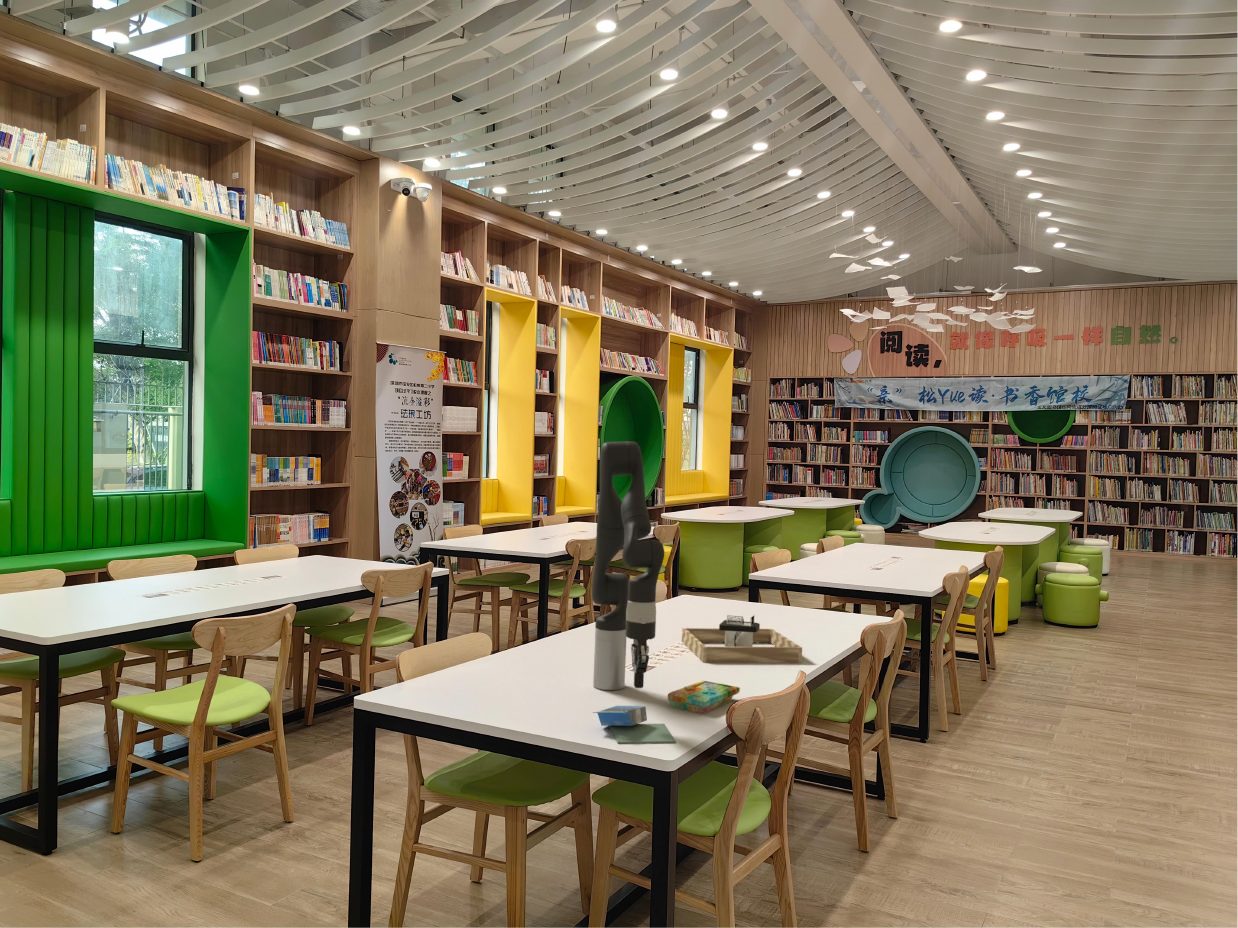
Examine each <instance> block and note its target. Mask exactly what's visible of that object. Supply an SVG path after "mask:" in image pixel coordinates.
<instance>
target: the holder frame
mask: <svg viewBox="0 0 1238 928" xmlns="http://www.w3.org/2000/svg"><path fill="white" fill-rule="evenodd" d="M681 642H683V643H684V644H683V645H684V646H685V647H686V648H687V649H689V651H691V653H693V655H695V656H696V658H697V659H699V661H701V662H702V663H802V660H803V647H802V646H800V645H798V644H797V643H796V642H794V641H792V640H790V639H789V638H788V637H786V636H784V635H783V634H781V633H780V632H778V631H776V630H775V629H773V628H760V629H759V630H758V631H757V632H753V642H770V643H772V644H773V645H775V646H776V647H775V646H773V645H772V644H771V645H772V646H752V647H724V646H707V645H705V643H702V642H725V631H723V630H719V627H717V628H707V627H706V628H703V627H697V628H695V627H692V628H691V627H687V628H686V627H684V628H683V627H681ZM770 643H769V644H770Z"/></svg>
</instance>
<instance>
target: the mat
mask: <svg viewBox="0 0 1238 928" xmlns="http://www.w3.org/2000/svg"><path fill="white" fill-rule="evenodd" d="M609 727H610V729H611V732H612V735H613V737H614V738H615V740H616V742H617V744H620V745H621V744H676V743H677V740H676V739H675V738H674V736H673V735H672V733H671V732H670V730H669V729H668V726H667V725H666V724H665V723H638V724H635V725H633V726H609Z"/></svg>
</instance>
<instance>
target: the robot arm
mask: <svg viewBox="0 0 1238 928" xmlns="http://www.w3.org/2000/svg"><path fill="white" fill-rule="evenodd" d="M599 454H600V456H599V497H598V499H599V500H598V510H597V517H596V518H597V519H596V537H595V538H596V539H595V540H596V541H595V542H596V543H595V559H594V566H593V567H594V568H593V572H592V583H591V599H592V601H593V603H594V604H595V605H600V606H603V605H604V606H616V607H614V609H613V610H612V611H610V612H608V613H605V614H602V615H599V616H597V618H596V619H595V627H594V628H595V629H594V630H595V631H594V632H595V633H594V656H593V657H594V660H593V682H592V683H593V685H592V686H593V687H594V688H595V689H599V690H604V691H617V690H622V689H624V688H625V685H626V683H625V682H626V681H625V680H626V658H627V656H626V655H627V639H631V640H633V641H632V643H631V644H630V651H631V663H632V664H631V666H632V668H633V669H632V671H633V686H634V688H636V689H643V687H644V677H645V675H644V674H645V673H647V669H648V664H649V660H650V656H649V653H650V652H649V651H650V647H649V645H648V643H647V641H648V640H653V639H655V638H656V629H657V628H656V626H657V623H656V621H657V605H656V601H657V600H656V597H657V596H656V595H657V584H658V580H659V577H660V576H659V575H660V572H661V568H662V566H663V563H664V560H665V547H664V545H663V544H662V542H661V541H660V540H659V539H644V538H646V537H648V536H649V535H650V534H651V532H652V522H651V519H650V514H649V511H648V507H647V505H648V504H647V500H646V485H645V474H644V463H643V454H642V451H641V447H640V444H638V443H637V442H636V441H606V442H604V443H603V444H602V446H601V449H600V453H599ZM615 476H631V483H630V486H629V488H628V489H627V492H626V493H625V495H624V497H623V499H622V498H620V496H619V494H618V492H617V491H616V488H615V485H614V483H613V477H615ZM621 549H622V553H621V554H622V555H621V556H622V561H623V563H624V564H625V565H626V566H627V567H629V568H631V569H632V568H634V569H635V568H642V569H643V568H645V569H646V570H645V572H644V573H643V574H641V575H637V576H633V577H631V578H630V579H629V576H628V574H626V573H620V572H619V573H616V572H614V573H612V572H611V573H610V572H606V571H607V569H608V566H609V565H610V563H611V562H612V561H613V559H614V558H615V557H616V555H617V554H618V553H620V551H621Z"/></svg>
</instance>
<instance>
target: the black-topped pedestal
mask: <svg viewBox="0 0 1238 928" xmlns="http://www.w3.org/2000/svg"><path fill="white" fill-rule="evenodd" d="M749 619H750V621H745V620H744V616H742V615H741V616H739V615H733V616H732V615H729V614H727V615H726V619H724V620H723V621H722V622H720V624H719V625H718V626H719V627H718V628H719V630H723V631H725V643H724V645H723V647H754V646H753V645H754V643H753V632H757V631H758V630H759V629H761V628H760V623H759V622H755V615H752V616H750V618H749Z"/></svg>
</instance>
